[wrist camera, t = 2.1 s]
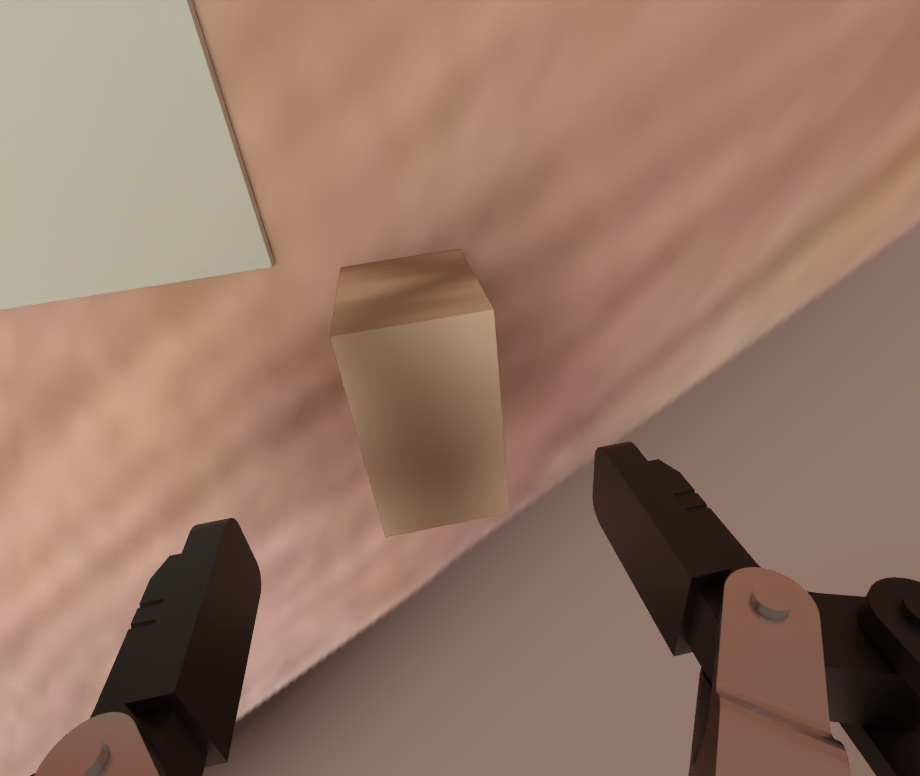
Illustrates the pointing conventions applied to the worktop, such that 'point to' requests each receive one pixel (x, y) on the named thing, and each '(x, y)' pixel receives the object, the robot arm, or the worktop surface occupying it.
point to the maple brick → (423, 389)
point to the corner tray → (115, 153)
